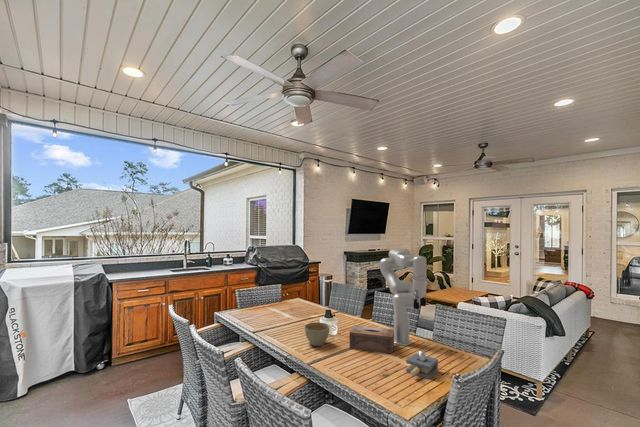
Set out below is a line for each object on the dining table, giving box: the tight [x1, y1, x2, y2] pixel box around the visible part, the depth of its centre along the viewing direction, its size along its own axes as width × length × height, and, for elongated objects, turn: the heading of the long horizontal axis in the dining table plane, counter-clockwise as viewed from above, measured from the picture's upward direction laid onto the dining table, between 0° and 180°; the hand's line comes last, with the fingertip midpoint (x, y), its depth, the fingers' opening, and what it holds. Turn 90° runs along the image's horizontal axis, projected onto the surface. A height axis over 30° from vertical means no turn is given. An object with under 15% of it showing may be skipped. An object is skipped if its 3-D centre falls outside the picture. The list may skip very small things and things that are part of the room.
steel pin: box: [418, 350, 426, 362], centre depth 162 cm, size 3×3×10 cm
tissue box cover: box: [348, 324, 395, 354], centre depth 195 cm, size 26×14×10 cm, turn 73°
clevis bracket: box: [405, 352, 439, 380], centre depth 159 cm, size 12×18×6 cm, turn 141°
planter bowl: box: [304, 321, 331, 347], centre depth 199 cm, size 16×16×11 cm
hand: (419, 307), depth 181 cm, fingers open, 9 cm apart
